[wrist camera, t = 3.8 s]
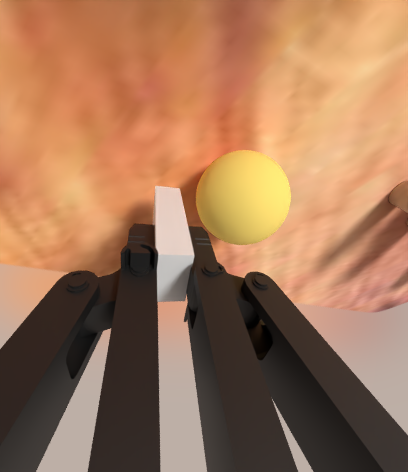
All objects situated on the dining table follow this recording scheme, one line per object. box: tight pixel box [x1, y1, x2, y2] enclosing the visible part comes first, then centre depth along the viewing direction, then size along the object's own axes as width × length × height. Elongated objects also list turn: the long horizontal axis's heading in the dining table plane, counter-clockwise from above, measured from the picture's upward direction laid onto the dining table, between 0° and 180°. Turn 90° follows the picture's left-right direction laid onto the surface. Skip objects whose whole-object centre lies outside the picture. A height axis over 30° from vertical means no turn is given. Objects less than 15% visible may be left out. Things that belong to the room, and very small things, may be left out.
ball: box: [196, 150, 291, 245], centre depth 15 cm, size 6×6×6 cm
